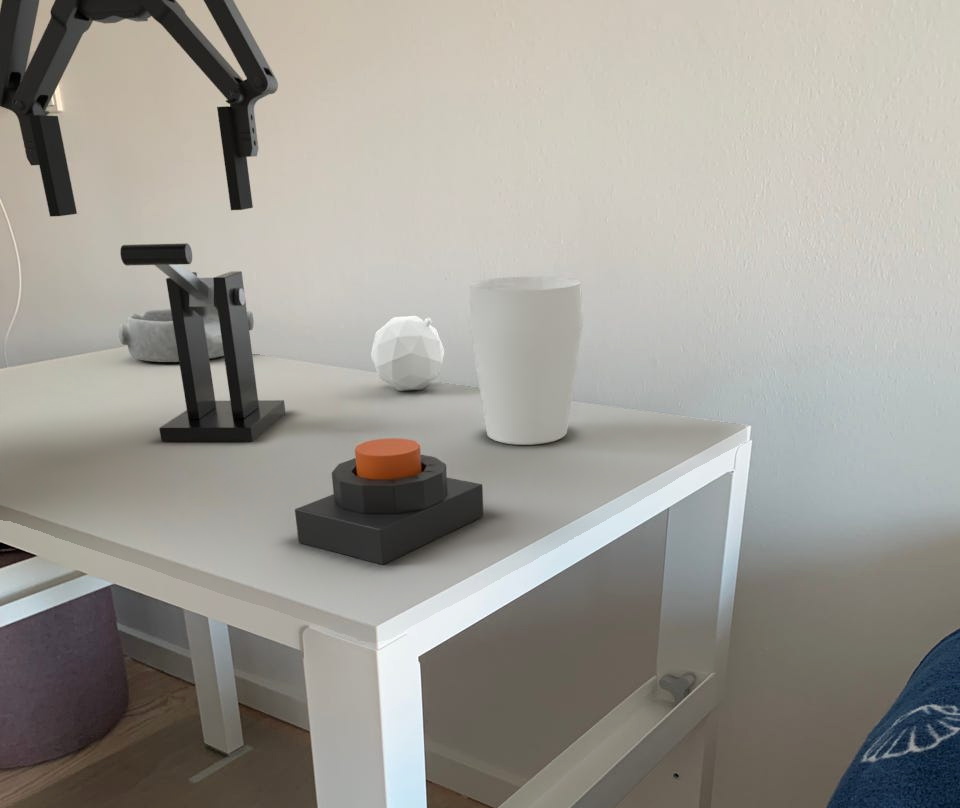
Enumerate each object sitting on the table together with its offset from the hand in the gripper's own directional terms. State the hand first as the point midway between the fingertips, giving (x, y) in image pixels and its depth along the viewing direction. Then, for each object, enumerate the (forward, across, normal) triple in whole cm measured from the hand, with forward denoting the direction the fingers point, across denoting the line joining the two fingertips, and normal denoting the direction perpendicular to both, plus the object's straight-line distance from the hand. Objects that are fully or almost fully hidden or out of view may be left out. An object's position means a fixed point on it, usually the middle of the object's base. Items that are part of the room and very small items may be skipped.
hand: (152, 212), depth 73 cm
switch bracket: (+18, 0, -9) cm, 20 cm away
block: (+18, -20, +17) cm, 32 cm away
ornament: (+18, -14, -24) cm, 33 cm away
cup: (+18, -27, -6) cm, 33 cm away
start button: (+15, -20, +17) cm, 30 cm away
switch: (+6, 0, -4) cm, 8 cm away
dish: (+18, +17, -44) cm, 51 cm away
